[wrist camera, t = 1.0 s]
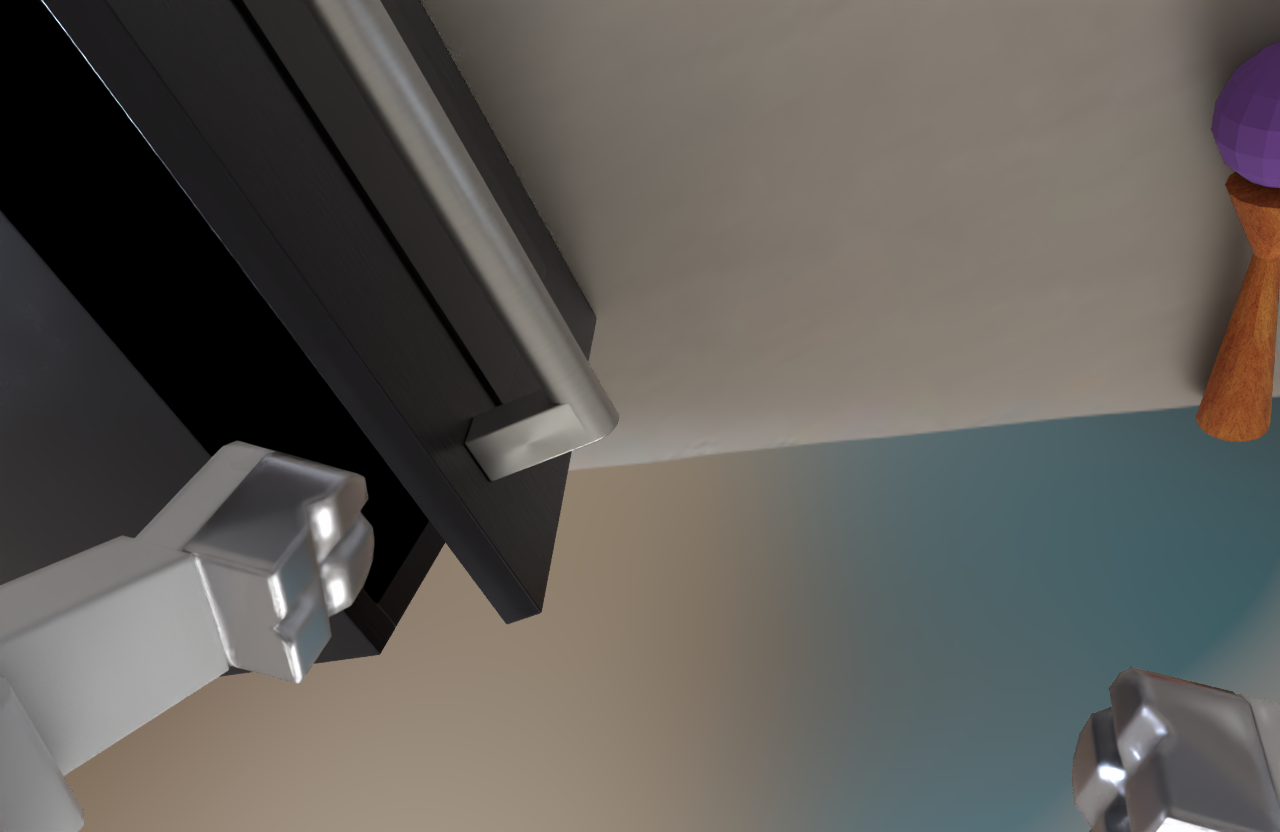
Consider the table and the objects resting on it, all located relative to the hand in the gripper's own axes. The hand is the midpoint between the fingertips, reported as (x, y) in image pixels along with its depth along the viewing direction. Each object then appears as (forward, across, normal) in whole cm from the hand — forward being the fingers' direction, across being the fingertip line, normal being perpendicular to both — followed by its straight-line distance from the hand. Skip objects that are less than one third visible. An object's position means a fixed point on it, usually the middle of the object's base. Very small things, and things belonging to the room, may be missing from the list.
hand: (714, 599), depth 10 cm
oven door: (+41, +21, +7) cm, 46 cm away
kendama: (+41, -20, +12) cm, 47 cm away
